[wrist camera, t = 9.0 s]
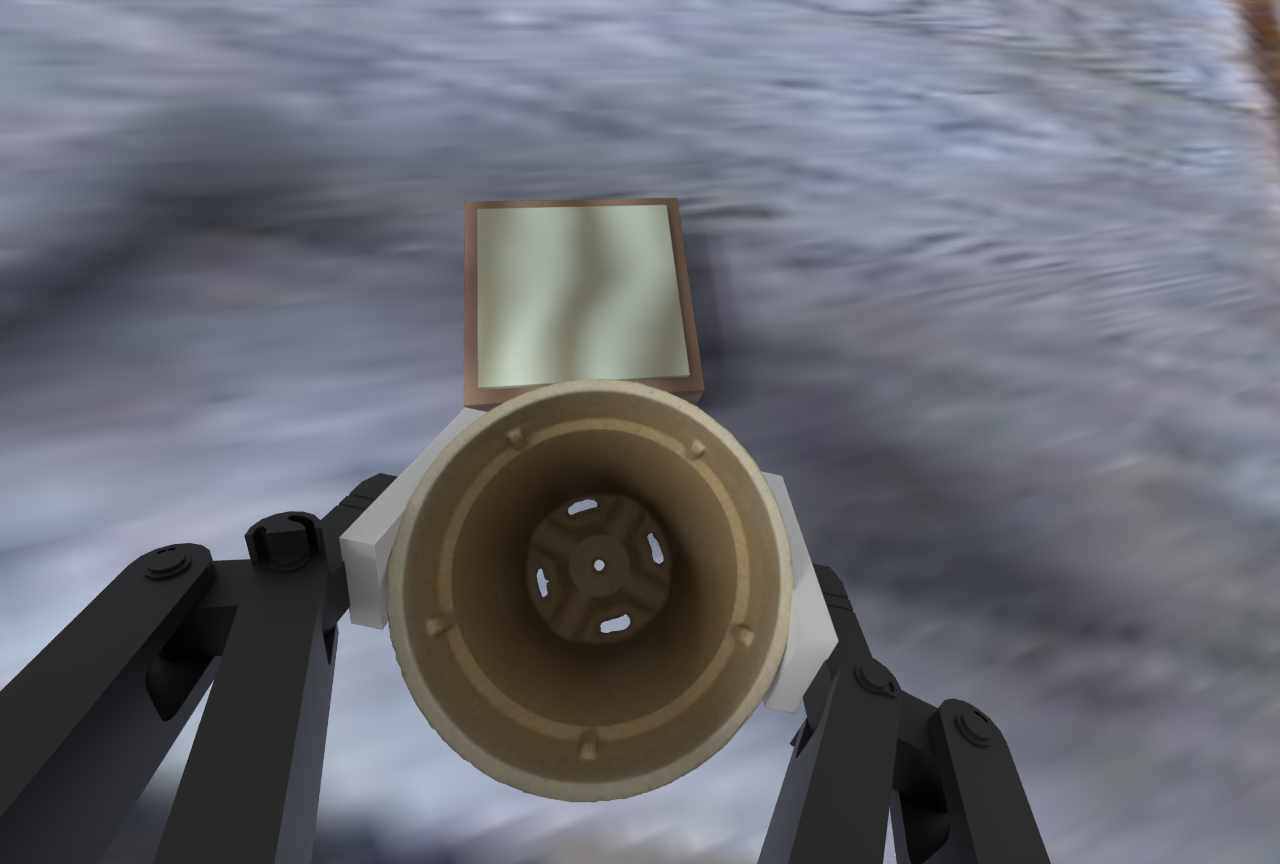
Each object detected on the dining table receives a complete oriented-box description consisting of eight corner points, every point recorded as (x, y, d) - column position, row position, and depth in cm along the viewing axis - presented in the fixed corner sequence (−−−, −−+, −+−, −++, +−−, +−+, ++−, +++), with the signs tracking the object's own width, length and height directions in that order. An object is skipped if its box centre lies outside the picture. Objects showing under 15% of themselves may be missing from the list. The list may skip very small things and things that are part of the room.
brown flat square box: (479, 423, 34) (462, 403, 30) (478, 238, 39) (463, 197, 34) (693, 409, 36) (706, 387, 32) (669, 233, 40) (677, 193, 36)
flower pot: (580, 754, 17) (565, 925, 9) (430, 554, 19) (300, 544, 10) (756, 578, 20) (873, 587, 11) (611, 413, 21) (621, 313, 13)
